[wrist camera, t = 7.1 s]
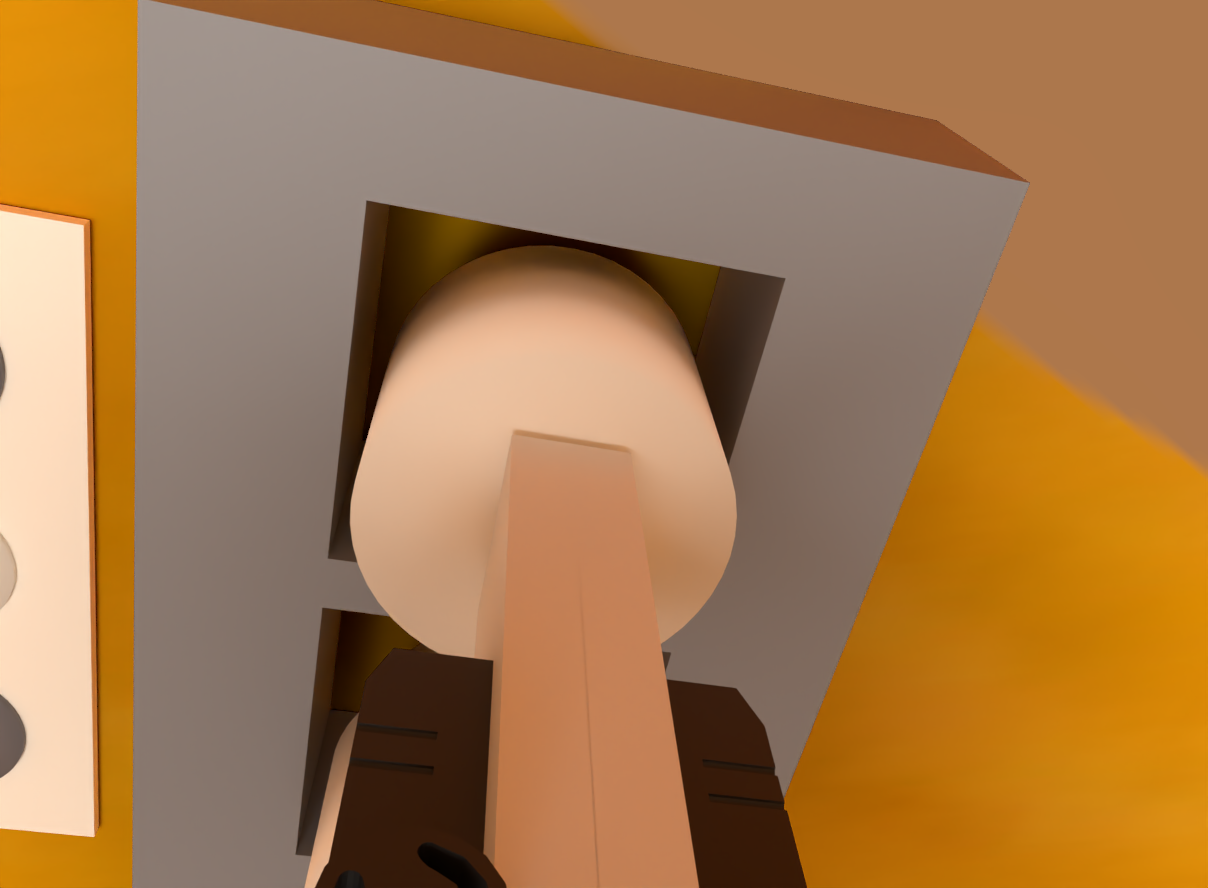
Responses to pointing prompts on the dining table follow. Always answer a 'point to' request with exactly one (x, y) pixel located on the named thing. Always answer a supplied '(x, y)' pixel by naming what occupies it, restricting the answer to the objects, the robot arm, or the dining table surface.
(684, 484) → the button
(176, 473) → the gray compartment tray
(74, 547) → the card
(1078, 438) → the dining table surface
